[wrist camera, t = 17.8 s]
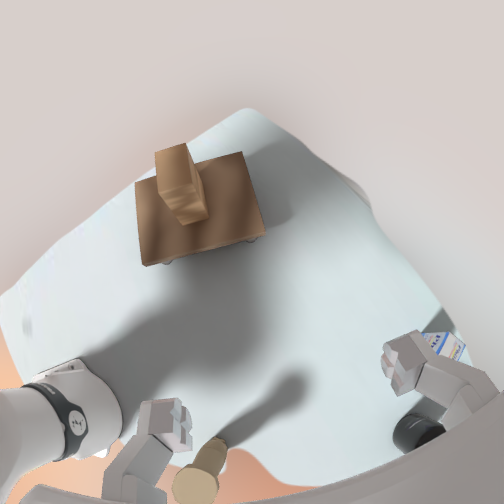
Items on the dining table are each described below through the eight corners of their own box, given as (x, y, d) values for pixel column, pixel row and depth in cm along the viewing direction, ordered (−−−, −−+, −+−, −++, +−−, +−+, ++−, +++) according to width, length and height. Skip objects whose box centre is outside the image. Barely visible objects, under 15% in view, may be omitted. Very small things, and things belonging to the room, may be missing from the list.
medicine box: (420, 332, 39) (449, 329, 30) (437, 345, 38) (467, 344, 29) (396, 373, 37) (422, 380, 29) (413, 386, 36) (441, 394, 28)
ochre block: (182, 225, 40) (158, 192, 30) (177, 190, 41) (154, 152, 32) (209, 218, 40) (192, 182, 30) (202, 183, 41) (185, 142, 32)
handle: (197, 455, 35) (167, 500, 21) (208, 423, 37) (178, 461, 22) (227, 465, 34) (208, 514, 20) (238, 433, 36) (223, 477, 22)
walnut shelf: (157, 273, 44) (142, 264, 38) (148, 199, 48) (134, 182, 42) (266, 245, 44) (265, 231, 39) (244, 171, 48) (241, 151, 43)
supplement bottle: (408, 406, 35) (446, 422, 24) (432, 421, 34) (471, 437, 22) (383, 440, 34) (415, 467, 22) (408, 453, 32) (442, 478, 21)
